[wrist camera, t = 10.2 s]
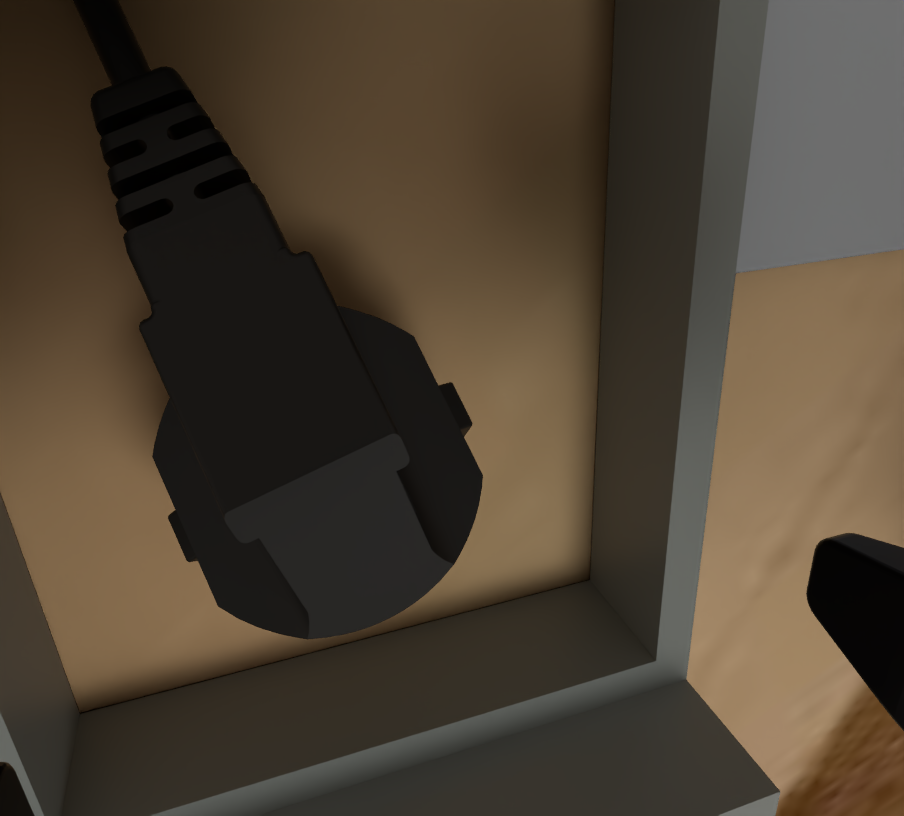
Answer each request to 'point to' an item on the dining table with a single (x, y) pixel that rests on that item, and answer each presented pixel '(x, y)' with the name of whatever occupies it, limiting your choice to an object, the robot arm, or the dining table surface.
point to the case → (514, 622)
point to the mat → (826, 135)
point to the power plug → (273, 382)
